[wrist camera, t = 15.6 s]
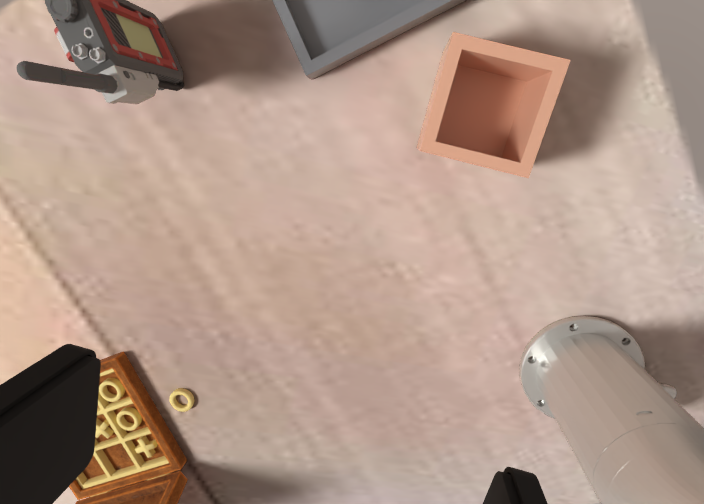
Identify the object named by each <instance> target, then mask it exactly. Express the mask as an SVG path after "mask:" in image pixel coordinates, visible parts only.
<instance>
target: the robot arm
mask: <svg viewBox="0 0 704 504" xmlns="http://www.w3.org/2000/svg"><path fill="white" fill-rule="evenodd" d="M572 324H573V325H572ZM570 325H572V326H570ZM529 357H530V358H529ZM100 369H101V362H100V360H99V359H97V358H96V354H95V352H94V351H93V350H90V349H86V348H83V347H79V346H76V345H72V344H66V345H64V346H62V347H60V348H59V349H57V350H56V351H54V352H52V353H51V354H49V355H48V356H46V357H44V358H43V359H41V360H40V361H38V362H36V363H35V364H33V365H32V366H30V367H28V368H27V369H25V370H24V371H22V372H21V373H19V374H17V375H16V376H14V377H13V378H11V379H9V380H8V381H6V382H5V383H3V384H1V385H0V504H53V502H54V501H55V500H56V499H57V498H58V497H59V496H60V495H61V494H62V493H63V492H64V491H65V490H66V489H67V488H68V487H69V485H70V484H71V483H72V482H73V481H74V480H75V479H76V478H77V477H78V476H79V475H80V474H81V473H82V472H83V471H84V470H85V468H86V467H87V466H88V464H89V463H90V461H91V459H92V457H93V454H94V448H95V435H96V421H97V408H98V395H99V382H100ZM519 377H520V381H521V385H522V387H523V390H524V392H525V394H526V396H527V397H528V399H529V400H530V402H531V403H532V404H533V405H534V406H535V407H536V408H537V409H538V410H539V411H541V412H542V413H544V414H545V415H547V416H549V417H551V418H554V419H556V421H557V423H558V425H559V427H560V429H561V430H562V432H563V434H564V436H565V438H566V440H567V442H568V443H569V445H570V447H571V449H572V451H573V453H574V455H575V456H576V458H577V460H578V462H579V464H580V466H581V468H582V469H583V471H584V473H585V475H586V477H587V479H588V481H589V482H590V484H591V486H592V488H593V490H594V492H595V494H596V495H597V497H598V499H599V501H600V503H601V504H704V428H703V427H702V426H701V425H700V424H699V423H698V422H697V421H696V420H695V419H694V418H693V417H692V416H691V415H690V414H689V413H688V412H687V411H686V410H685V409H684V408H683V407H682V406H681V405H680V404H679V403H678V402H677V401H676V400H675V399H674V398H675V397H676V394H677V392H676V389H675V387H673V386H670V385H666V384H662V383H658V382H657V381H656V380H655V379H654V378H653V377H652V376H651V375H650V374H649V373H648V372H647V371H646V370H645V362H644V356H643V353H642V351H641V348H640V346H639V345H638V343H637V342H636V340H635V339H634V338H633V337H632V336H631V335H630V334H629V333H628V332H627V331H626V330H624V329H623V328H622V327H620V326H619V325H617V324H615V323H613V322H611V321H609V320H606V319H603V318H599V317H593V316H576V317H569V318H565V319H561V320H559V321H557V322H554V323H552V324H550V325H548V326H547V327H545V328H544V329H542V330H540V331H539V332H538V333H537V334H536V335H535V336H534V337H533V338H532V339H531V340H530V342H529V343H528V345H527V346H526V347H525V350H524V352H523V354H522V356H521V360H520V365H519ZM483 504H547V501H546V499H545V496H544V494H543V491H542V489H541V486H540V484H539V481H538V479H537V477H536V475H534V474H533V473H529V472H526V471H522V470H519V469H515V468H511V467H507V468H506V469H505V470H504V472H500V471H498V472H497V473H496V474H495V476H494V478H493V481H492V483H491V485H490V488H489V490H488V493H487V495H486V497H485V500H484V502H483Z"/></svg>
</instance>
